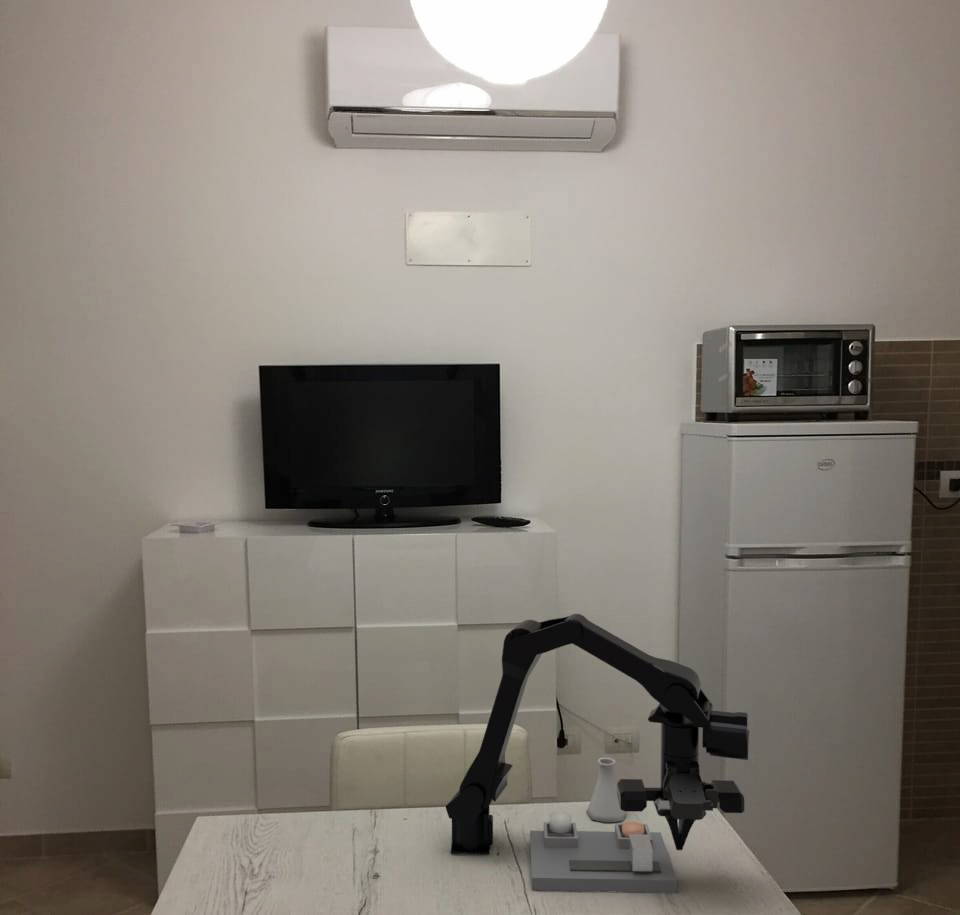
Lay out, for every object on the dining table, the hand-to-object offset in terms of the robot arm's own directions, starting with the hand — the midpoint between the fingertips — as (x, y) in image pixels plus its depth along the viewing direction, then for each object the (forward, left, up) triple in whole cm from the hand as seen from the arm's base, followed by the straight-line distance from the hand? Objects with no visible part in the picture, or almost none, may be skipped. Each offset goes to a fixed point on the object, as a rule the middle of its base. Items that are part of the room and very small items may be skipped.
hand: (678, 849), depth 136 cm
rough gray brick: (-6, 0, -2) cm, 6 cm away
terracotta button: (-6, +9, -3) cm, 11 cm away
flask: (-9, +22, -5) cm, 24 cm away
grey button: (-18, +8, -1) cm, 20 cm away
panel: (-12, +4, -5) cm, 14 cm away
